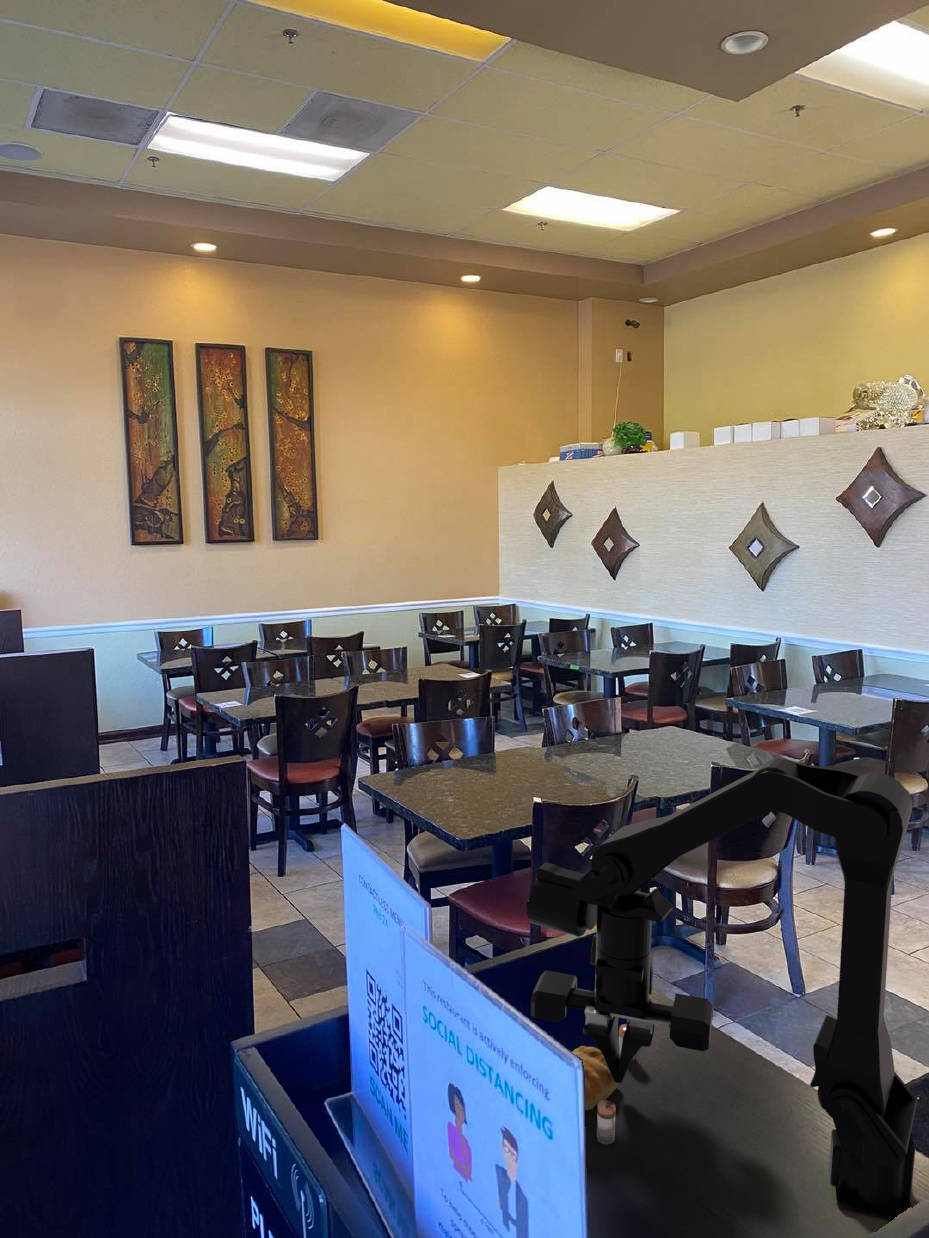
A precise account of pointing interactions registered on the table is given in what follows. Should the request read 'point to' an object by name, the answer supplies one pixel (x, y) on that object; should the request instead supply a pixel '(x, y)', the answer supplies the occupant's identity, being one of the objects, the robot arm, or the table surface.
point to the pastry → (595, 1076)
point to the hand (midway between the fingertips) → (618, 1080)
